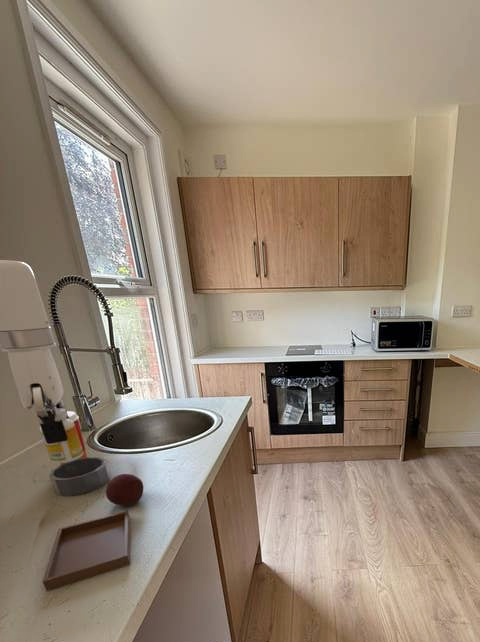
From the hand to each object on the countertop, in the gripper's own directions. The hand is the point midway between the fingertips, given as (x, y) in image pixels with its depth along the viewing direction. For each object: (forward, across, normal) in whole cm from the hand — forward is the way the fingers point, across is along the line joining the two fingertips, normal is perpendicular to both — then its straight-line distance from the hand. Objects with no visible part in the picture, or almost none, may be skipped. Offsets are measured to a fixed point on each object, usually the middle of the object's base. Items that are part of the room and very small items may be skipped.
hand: (60, 435), depth 67 cm
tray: (+19, +12, +2) cm, 23 cm away
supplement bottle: (+5, 0, 0) cm, 5 cm away
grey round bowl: (+19, -18, -2) cm, 27 cm away
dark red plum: (+20, -3, +8) cm, 21 cm away
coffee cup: (+20, -30, -5) cm, 36 cm away
